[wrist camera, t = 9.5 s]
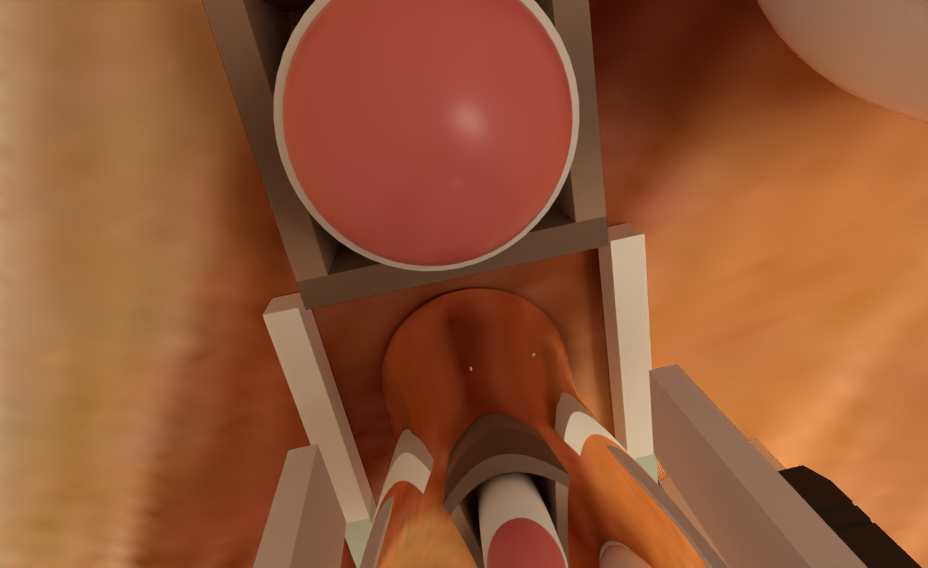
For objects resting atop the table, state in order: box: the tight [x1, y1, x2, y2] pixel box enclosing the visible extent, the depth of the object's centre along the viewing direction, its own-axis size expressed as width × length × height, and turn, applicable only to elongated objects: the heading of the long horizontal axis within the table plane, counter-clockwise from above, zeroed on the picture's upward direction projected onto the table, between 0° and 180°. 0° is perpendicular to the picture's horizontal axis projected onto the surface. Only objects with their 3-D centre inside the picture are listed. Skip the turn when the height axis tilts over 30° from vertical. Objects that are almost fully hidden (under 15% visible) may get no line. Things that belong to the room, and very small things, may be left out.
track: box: [263, 223, 658, 568], centre depth 20 cm, size 24×11×1 cm, turn 11°
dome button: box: [274, 0, 579, 271], centre depth 10 cm, size 5×5×7 cm
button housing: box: [202, 0, 609, 310], centre depth 12 cm, size 7×7×4 cm
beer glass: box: [360, 288, 729, 568], centre depth 11 cm, size 7×7×15 cm
